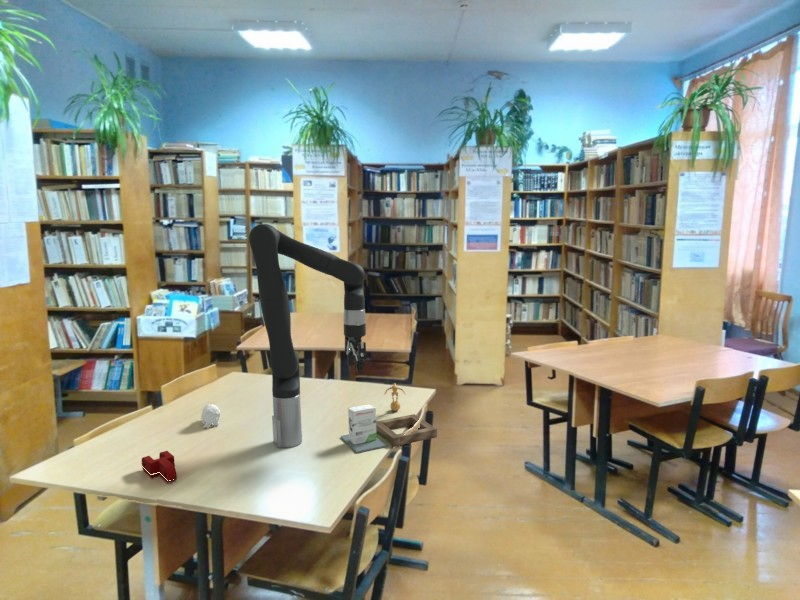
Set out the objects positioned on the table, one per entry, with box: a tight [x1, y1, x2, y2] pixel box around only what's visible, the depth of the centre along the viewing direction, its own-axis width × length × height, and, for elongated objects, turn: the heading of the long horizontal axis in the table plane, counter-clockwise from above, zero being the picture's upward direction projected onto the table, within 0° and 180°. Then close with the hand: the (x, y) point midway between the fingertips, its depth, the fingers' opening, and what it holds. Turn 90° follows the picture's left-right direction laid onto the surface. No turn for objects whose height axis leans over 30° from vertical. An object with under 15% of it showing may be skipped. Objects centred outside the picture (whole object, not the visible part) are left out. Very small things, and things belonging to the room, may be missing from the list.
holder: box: [376, 413, 438, 447], centre depth 194 cm, size 17×17×3 cm
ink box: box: [347, 404, 377, 445], centre depth 186 cm, size 9×5×12 cm, turn 117°
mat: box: [340, 433, 388, 454], centre depth 187 cm, size 11×15×1 cm
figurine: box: [384, 382, 406, 412], centre depth 216 cm, size 8×6×12 cm
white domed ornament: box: [200, 403, 221, 429], centre depth 206 cm, size 6×8×12 cm
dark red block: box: [141, 450, 178, 484], centre depth 164 cm, size 16×7×5 cm, turn 43°
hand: (355, 368), depth 187 cm, fingers open, 8 cm apart
